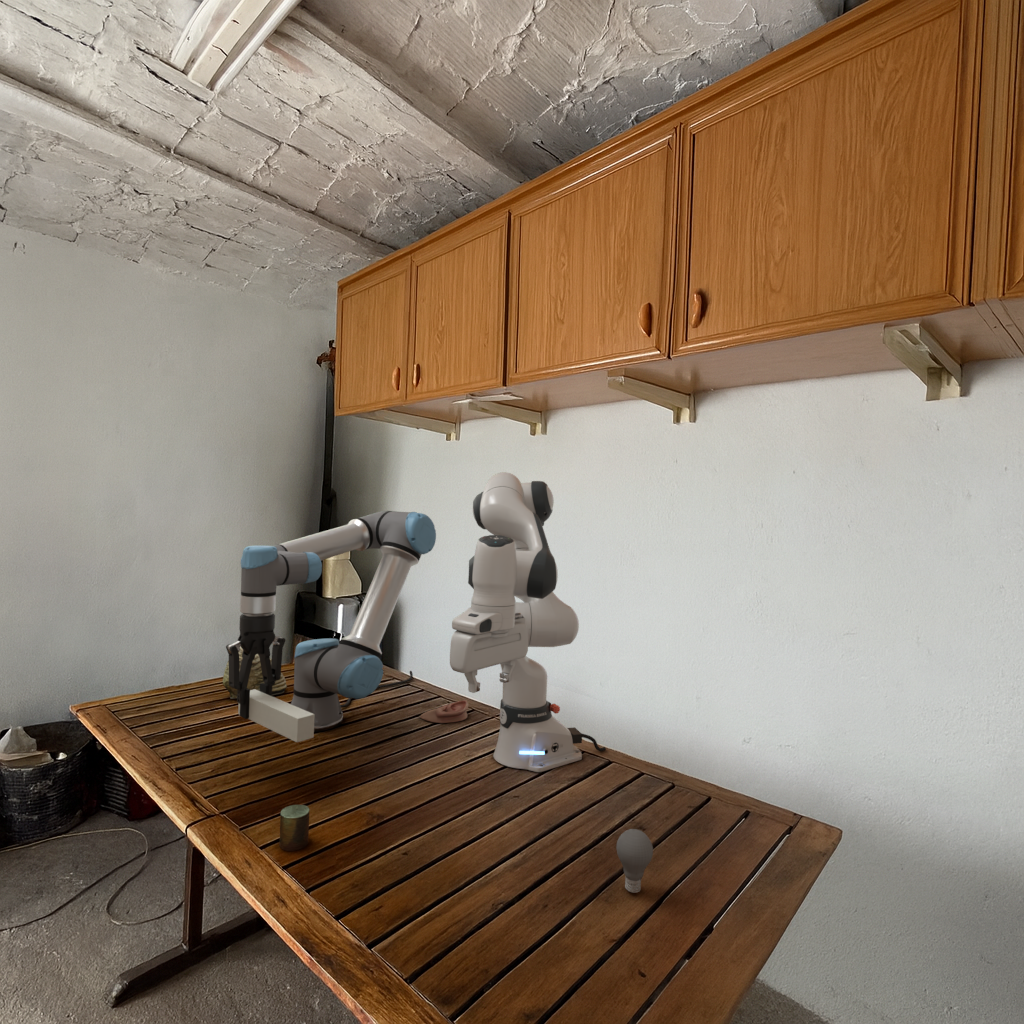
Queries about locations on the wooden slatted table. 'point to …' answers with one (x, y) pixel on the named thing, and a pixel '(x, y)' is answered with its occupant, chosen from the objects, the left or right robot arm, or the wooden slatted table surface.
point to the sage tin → (294, 827)
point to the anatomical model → (447, 713)
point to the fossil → (253, 678)
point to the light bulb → (634, 857)
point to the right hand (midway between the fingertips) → (489, 686)
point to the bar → (280, 716)
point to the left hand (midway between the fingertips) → (254, 714)
